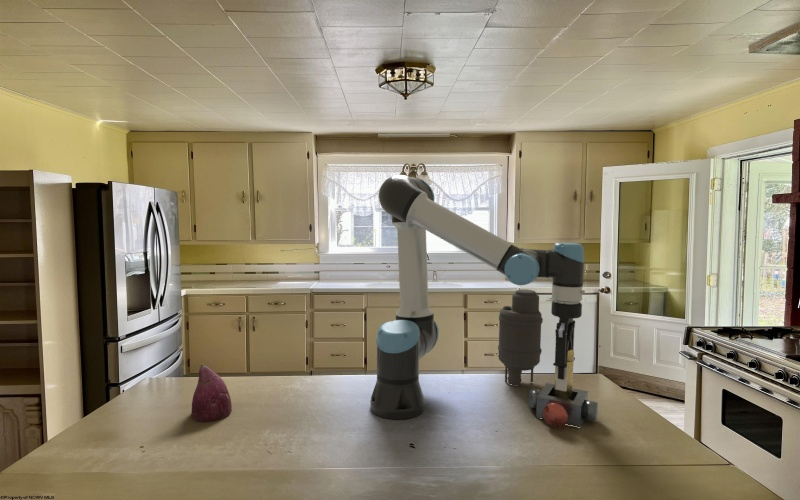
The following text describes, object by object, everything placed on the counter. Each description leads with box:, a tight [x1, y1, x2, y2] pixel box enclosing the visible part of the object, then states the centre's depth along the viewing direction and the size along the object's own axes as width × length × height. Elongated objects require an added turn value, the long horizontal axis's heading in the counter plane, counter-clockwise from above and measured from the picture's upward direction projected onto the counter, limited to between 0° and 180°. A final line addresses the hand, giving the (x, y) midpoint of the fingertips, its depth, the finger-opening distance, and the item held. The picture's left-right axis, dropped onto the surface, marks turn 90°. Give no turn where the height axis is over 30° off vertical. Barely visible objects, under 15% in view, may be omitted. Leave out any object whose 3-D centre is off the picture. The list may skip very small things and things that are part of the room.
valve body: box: [527, 382, 599, 429], centre depth 118 cm, size 17×15×6 cm
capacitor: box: [497, 289, 544, 386], centre depth 142 cm, size 14×14×30 cm
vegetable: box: [190, 363, 233, 423], centre depth 118 cm, size 10×10×15 cm
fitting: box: [554, 348, 575, 400], centre depth 119 cm, size 5×5×15 cm
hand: (563, 386), depth 119 cm, fingers open, 4 cm apart
